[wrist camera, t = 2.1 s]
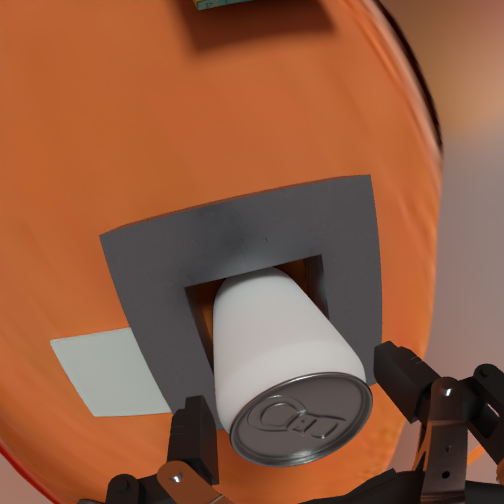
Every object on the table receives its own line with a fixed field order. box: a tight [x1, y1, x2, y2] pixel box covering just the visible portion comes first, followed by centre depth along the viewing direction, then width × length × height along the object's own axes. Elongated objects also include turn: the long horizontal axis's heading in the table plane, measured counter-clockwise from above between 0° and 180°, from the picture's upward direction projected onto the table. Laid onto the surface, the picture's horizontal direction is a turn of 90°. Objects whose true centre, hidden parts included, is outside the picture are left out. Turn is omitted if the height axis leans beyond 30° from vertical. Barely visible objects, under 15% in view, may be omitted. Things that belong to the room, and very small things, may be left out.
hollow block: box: [99, 175, 382, 430], centre depth 18 cm, size 16×16×4 cm
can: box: [213, 267, 373, 467], centre depth 14 cm, size 6×6×12 cm
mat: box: [50, 327, 172, 416], centre depth 20 cm, size 9×9×1 cm
